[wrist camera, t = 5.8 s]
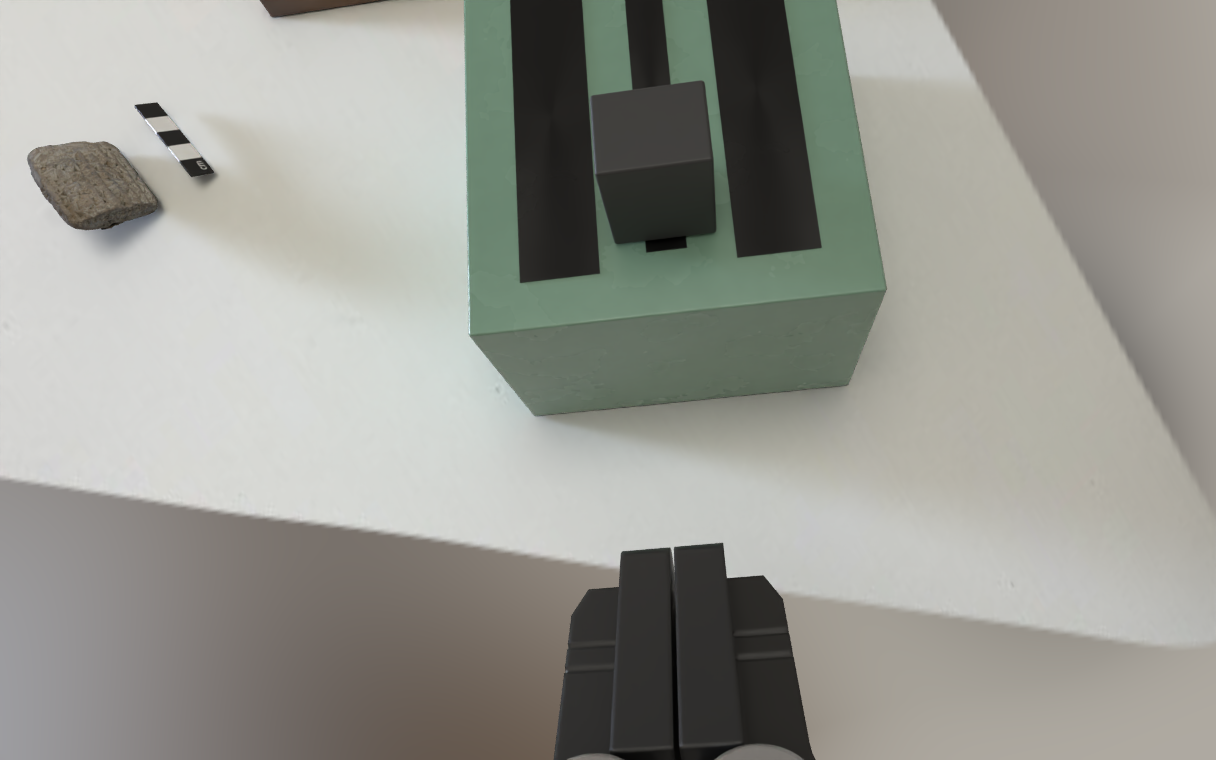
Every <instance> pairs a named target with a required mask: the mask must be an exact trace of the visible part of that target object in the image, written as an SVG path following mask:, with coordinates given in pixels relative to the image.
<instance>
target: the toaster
mask: <svg viewBox="0 0 1216 760" xmlns="http://www.w3.org/2000/svg"><path fill="white" fill-rule="evenodd" d="M464 35H465V102H466V170H467V237H468V304H469V336H470V337H471V338H472V340H473V341H474V342H475V343H476V345H477V346H478V347H479V348H480V350H481V351H482V352H483V353H484V354H485V356H486V357H487V358H488V359H489V361H490V362H491V363H492V364H493V365H494V367H495V368H496V369H497V370H498V372H499V373H500V374H501V375H502V377H503V378H504V379H505V380H506V381H507V383H508V384H509V385H510V386H511V388H512V389H513V390H514V391H515V393H516V394H517V395H518V396H519V397H520V399H521V400H522V401H523V402H524V404H525V405H526V406H527V407H528V408H529V410H530V411H531V412H532V413H533V415H534V416H541V415H551V414H561V413H571V412H581V411H591V410H601V409H611V408H621V407H632V406H642V405H652V404H662V403H672V402H682V401H692V400H702V399H712V398H722V397H733V396H743V395H753V394H763V393H773V392H783V391H793V390H803V389H813V388H823V387H834V386H844V385H848V384H849V381H850V379H851V376H852V374H853V371H854V369H855V366H856V364H857V362H858V359H859V357H860V354H861V352H862V349H863V347H864V344H865V342H866V339H867V337H868V334H869V332H870V329H871V327H872V324H873V322H874V319H875V317H876V315H877V312H878V310H879V307H880V305H881V302H882V300H883V297H884V295H885V292H886V290H887V287H886V281H885V276H884V270H883V264H882V259H881V253H880V247H879V241H878V236H877V230H876V224H875V219H874V213H873V207H872V202H871V196H870V190H869V184H868V179H867V173H866V167H865V162H864V156H863V150H862V144H861V139H860V133H859V127H858V122H857V116H856V110H855V105H854V99H853V93H852V87H851V82H850V76H849V70H848V65H847V59H846V53H845V48H844V42H843V36H842V30H841V25H840V19H839V13H838V8H837V2H836V0H464ZM699 80H702V81H704V83H705V89H706V98H707V106H708V115H709V124H710V133H711V141H712V150H713V159H714V182H715V205H716V228H717V229H716V232H714V233H707V234H698V235H690V236H681V237H673V238H665V239H656V240H648V241H640V242H631V243H623V244H615V242H614V239H613V236H612V232H611V229H610V225H609V222H608V218H607V215H606V211H605V208H604V205H603V201H602V198H601V194H600V191H599V187H598V184H597V180H596V177H595V171H594V156H593V141H592V126H591V111H590V97H591V96H592V95H598V94H606V93H613V92H620V91H627V90H634V89H642V88H649V87H656V86H663V85H671V84H678V83H685V82H692V81H699Z"/></svg>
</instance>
